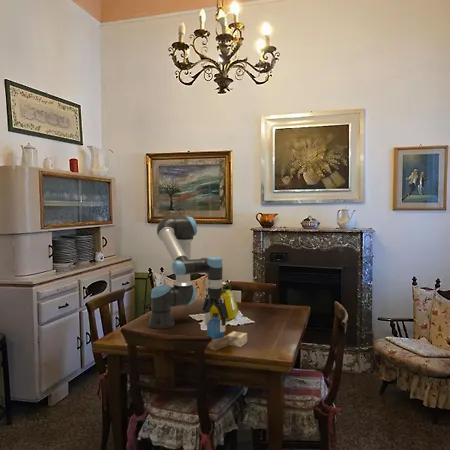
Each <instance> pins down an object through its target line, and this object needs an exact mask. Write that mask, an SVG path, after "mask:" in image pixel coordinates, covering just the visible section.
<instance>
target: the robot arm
mask: <svg viewBox="0 0 450 450" xmlns="http://www.w3.org/2000/svg"><path fill="white" fill-rule="evenodd" d="M197 233H198V225H197V221H196V220H195V218H193V217H192V216H167V217H165V218H163V219H161V220H160V221H159V223H158V225H157V227H156V234H157V237H158V239H159V240H160V241H162V242H163V244H164V246H165V249H166V250H167V253H168V254H169V256H170V258H171V260H172V265H171V269H172V273H173V275H175V281H174V282H173V285H172V286H171V285H170V284H161V285H157V286H154V287H153V288H152V289H151V290H150V291H151V293H150V297H151V298H150V300H151V301H150V302H151V304H150V305H151V314H150V317H149V320H148V327H149V328H151V329H155V330H157V329H159V330H160V329H161V330H163V329H169V328H172V327H174V326H175V320H174V317H173V313H172V308H173V307H179V306H180V307H181V306H187V305H192V304H194V302H195V301H196V298H197V290H196V289H197V288H196V286H195V285H194V283H193V282H192V281H191V275H194V274H195V275H199V274H207V294H205V299H204V302H203V306H202V311H203V312H204V319H205V321H204V325H205V326H207V324H208V322H209V321H210V320H211V310H212V308H213V306H214V307H215V308H216V309H217V311H218V312H217V313H219V318H220V319H219V320H220V332H224V333H225V332H226V322H227V319H229V318H230V317H229V314H228V310H227V306H226V300H225V298H221V296H222V295H223V258H222V257H221V256H209V257H200V258H194V259H191V252H192V251H191V250H192V245H191V244H192V243H191V242H192V241H193V240H194V236H196V235H197Z"/></svg>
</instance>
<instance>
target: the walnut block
mask: <svg viewBox="0 0 450 450" xmlns="http://www.w3.org/2000/svg"><path fill="white" fill-rule="evenodd" d="M205 336H207V334H205ZM228 345H229V337H228V336H227V335H225V334H224V337H223V338H218V339H212V341H211V342H210V343H209V344H208V347H207V348H206V349H210V350H212V351H218V350H220V349H223V348H225V347H229V346H230V345H229V346H228Z"/></svg>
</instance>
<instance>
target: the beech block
mask: <svg viewBox="0 0 450 450" xmlns="http://www.w3.org/2000/svg"><path fill="white" fill-rule="evenodd" d="M226 336H228V337H229V346H232V347H238V348H241V347H243V346H245V344H247V343H248V333H247V332H242V331H234V330H233V331H231V332H230V333H228V334H227V335H226Z"/></svg>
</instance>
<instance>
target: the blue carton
mask: <svg viewBox="0 0 450 450" xmlns="http://www.w3.org/2000/svg"><path fill="white" fill-rule="evenodd" d="M211 318H212V319H210V321H209V322H208V324H207V325H206V335H207V336H210V337H212V339H218V338H223V337H224V335H225V331H224V332H220V319H219V318H220V314H219V312H214V313H212V316H211Z"/></svg>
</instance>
